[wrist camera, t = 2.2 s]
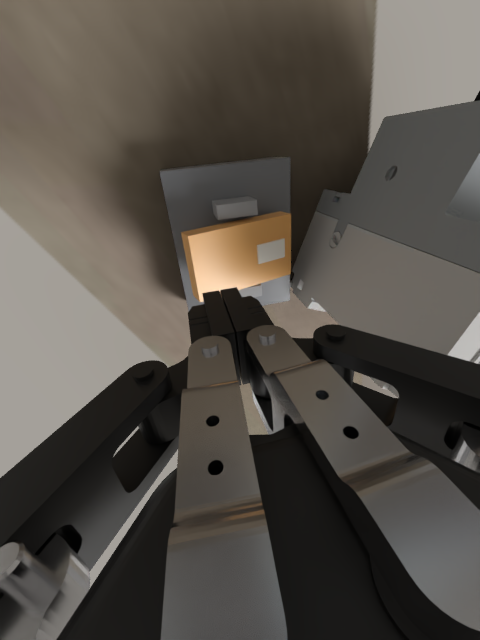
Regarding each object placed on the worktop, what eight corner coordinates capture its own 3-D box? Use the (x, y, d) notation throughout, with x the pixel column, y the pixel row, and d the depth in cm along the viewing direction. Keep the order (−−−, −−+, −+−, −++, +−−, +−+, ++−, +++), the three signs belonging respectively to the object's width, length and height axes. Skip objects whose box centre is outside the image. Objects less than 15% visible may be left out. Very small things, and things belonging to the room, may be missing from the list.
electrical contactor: (438, 135, 22) (814, 107, 9) (353, 299, 28) (507, 420, 15) (361, 94, 19) (728, -21, 7) (286, 284, 25) (403, 413, 13)
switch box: (160, 169, 19) (158, 173, 15) (275, 156, 20) (303, 157, 16) (188, 301, 24) (192, 332, 20) (277, 285, 25) (299, 312, 21)
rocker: (178, 230, 16) (188, 236, 15) (275, 210, 19) (292, 213, 17) (190, 292, 18) (200, 303, 17) (276, 266, 21) (292, 274, 20)
